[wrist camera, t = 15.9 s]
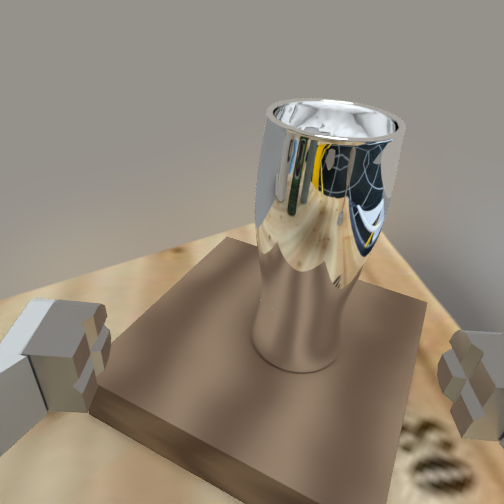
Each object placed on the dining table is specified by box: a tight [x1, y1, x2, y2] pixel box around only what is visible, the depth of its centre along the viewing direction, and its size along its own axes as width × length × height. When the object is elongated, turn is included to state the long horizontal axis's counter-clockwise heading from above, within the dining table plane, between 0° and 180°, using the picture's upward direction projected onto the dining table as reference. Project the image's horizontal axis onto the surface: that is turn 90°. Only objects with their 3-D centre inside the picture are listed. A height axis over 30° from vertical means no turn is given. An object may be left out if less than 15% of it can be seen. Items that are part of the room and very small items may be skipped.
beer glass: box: [252, 98, 406, 373], centre depth 23 cm, size 7×7×15 cm
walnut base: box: [89, 237, 427, 504], centre depth 29 cm, size 18×18×4 cm
